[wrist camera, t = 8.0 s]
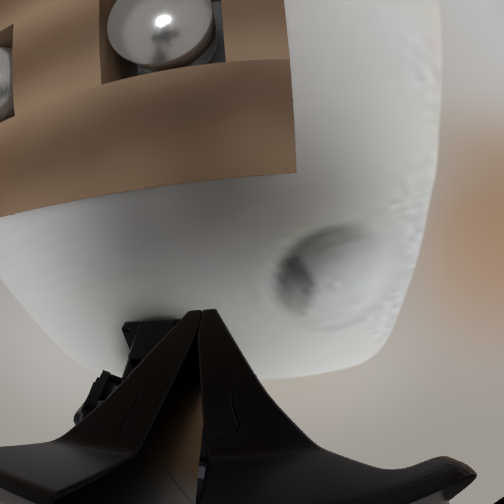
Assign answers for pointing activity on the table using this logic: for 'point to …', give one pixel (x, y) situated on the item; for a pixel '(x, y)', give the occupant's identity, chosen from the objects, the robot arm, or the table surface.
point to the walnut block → (138, 106)
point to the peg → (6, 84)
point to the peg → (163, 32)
